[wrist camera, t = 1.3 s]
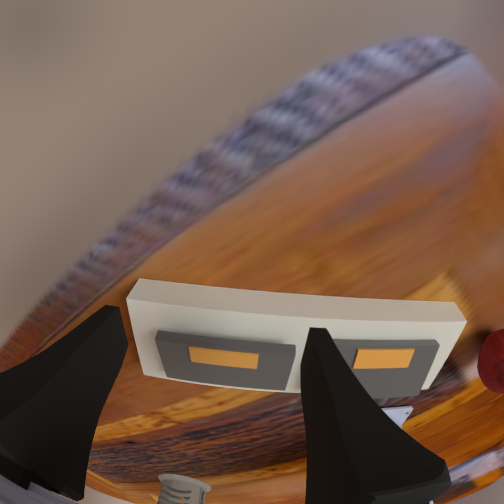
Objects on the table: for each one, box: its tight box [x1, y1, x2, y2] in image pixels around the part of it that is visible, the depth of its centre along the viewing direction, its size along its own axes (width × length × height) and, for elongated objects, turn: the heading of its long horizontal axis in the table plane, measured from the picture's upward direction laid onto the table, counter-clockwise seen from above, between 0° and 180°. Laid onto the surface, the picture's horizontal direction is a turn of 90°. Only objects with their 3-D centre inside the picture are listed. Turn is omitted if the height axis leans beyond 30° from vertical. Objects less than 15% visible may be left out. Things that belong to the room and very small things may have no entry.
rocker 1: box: [155, 330, 296, 391], centre depth 21 cm, size 5×9×1 cm, turn 86°
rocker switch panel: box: [126, 278, 467, 406], centre depth 23 cm, size 12×25×3 cm, turn 86°
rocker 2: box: [333, 339, 440, 399], centre depth 20 cm, size 5×9×1 cm, turn 87°
